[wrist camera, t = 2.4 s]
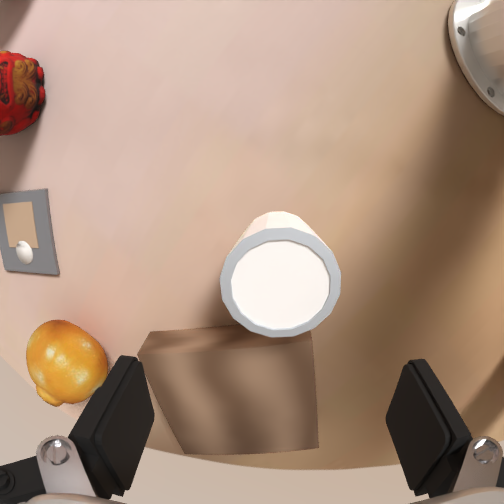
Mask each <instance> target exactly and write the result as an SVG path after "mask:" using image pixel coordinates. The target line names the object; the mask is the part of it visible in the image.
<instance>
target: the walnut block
mask: <svg viewBox="0 0 504 504" xmlns="http://www.w3.org/2000/svg"><path fill="white" fill-rule="evenodd" d="M137 355H138V358H139V360H140V362H142V364H143V368H144V372H145V374H146V376H147V379H148V381H149V383H150V385H151V387H152V390H153V392H154V394H155V396H156V398H157V400H158V403H159V405H160V407H161V409H162V411H163V413H164V415H165V417H166V419H167V421H168V423H169V425H170V427H171V429H172V431H173V433H174V434H175V436H176V438H177V440H178V442H179V444H180V446H181V448H182V449H183V451H184V453H185V454H204V455H234V454H260V453H276V452H287V451H297V450H306V449H314V448H319V442H318V421H317V402H316V386H315V371H314V358H313V345H312V337H311V332H310V330H308V331H306V332H304V333H301V334H299V335H296V336H292V337H268V336H265V335H262V334H258V333H255V332H252V331H250V330H248V329H247V328H246V327H244V326H243V325H242V324H239V325H230V326H219V327H208V328H196V329H184V330H170V331H154V332H150V333H149V335H148V337H147V338H146V340H145V342H144V344H143V345H142V347H141V349H140V350H139V352H138V354H137Z"/></svg>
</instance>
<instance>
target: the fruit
mask: <svg viewBox="0 0 504 504" xmlns="http://www.w3.org/2000/svg"><path fill="white" fill-rule="evenodd" d="M26 359H27V367H28V371H29V374H30V376H31V378H32V380H33V382H34V383H35V384H36V389H37V393H38V395H39V396H40V397H41V398H42V399H43V400H44V401H45V402H47V403H48V404H50V405H53V406H55V407H57V406H60V405H62V404H63V403H69V404H74V403H78V402H81V401H84V400H85V399H87V398H88V397H90V396H91V395H92V394H94V392H95V390H96V389H97V388H98V387H101V386H102V384H103V383H104V381H105V379H106V377H107V373H108V363H107V358H106V355H105V353H104V350H103V348H102V347H101V345H100V344H99V343H98V342H97V341H96V340H95V339H94V338H93V337H92V336H90V335H89V334H88V333H87V332H85V331H84V330H82V329H81V328H79V327H78V326H76V325H74V324H72V323H70V322H68V321H65V320H51V321H48V322H46V323H44V324H42V325H41V326H39V327H38V328H37V329H36V330H35V331H34V333H33V334H32V336H31V337H30V339H29V342H28V345H27V351H26Z"/></svg>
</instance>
